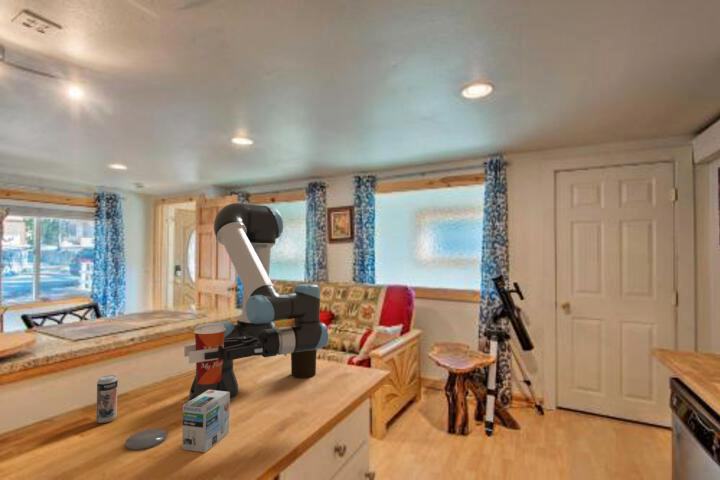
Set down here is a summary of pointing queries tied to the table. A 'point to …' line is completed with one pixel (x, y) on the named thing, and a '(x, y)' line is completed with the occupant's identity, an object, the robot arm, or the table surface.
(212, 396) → the light bulb box
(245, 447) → the table surface
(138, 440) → the slate coaster
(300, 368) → the olive oil
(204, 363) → the paper cup
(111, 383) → the beer can
